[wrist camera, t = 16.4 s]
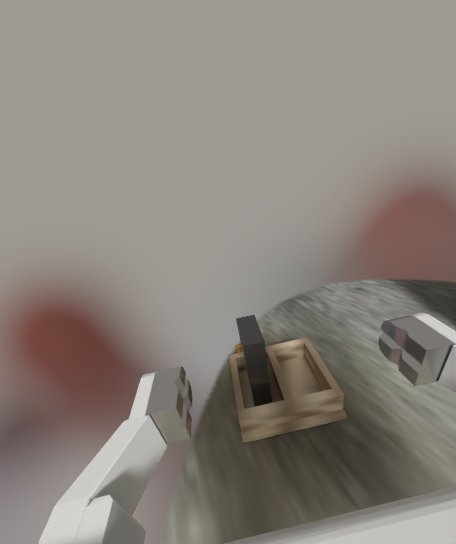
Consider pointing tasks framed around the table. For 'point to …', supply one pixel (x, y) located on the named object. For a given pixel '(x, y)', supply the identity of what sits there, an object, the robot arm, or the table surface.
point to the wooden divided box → (287, 392)
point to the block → (255, 359)
